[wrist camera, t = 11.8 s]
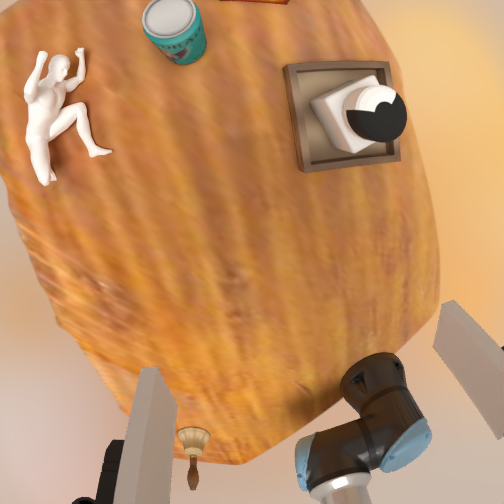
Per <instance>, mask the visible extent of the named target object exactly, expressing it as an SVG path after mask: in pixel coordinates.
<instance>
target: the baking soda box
mask: <svg viewBox="0 0 504 504" xmlns="http://www.w3.org/2000/svg"><path fill="white" fill-rule="evenodd" d="M220 1H245V2H262V3H275V4H284V5H287V3H288V1H289V0H220Z"/></svg>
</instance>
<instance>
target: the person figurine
mask: <svg viewBox="0 0 504 504" xmlns="http://www.w3.org/2000/svg"><path fill="white" fill-rule="evenodd" d="M75 54H76V56H77V57H79V59H80V60H79V67H78V71H77V76H76V77H73V78H70V79H68V80H64V78H65V76H66V75H67V71H68V69H69V67H70V60H69V58H68V57H66V56H65V55H60V54H58V55H56V56H54V57H53V58H52V59H51V61H50V63H49V73H48V75H47V77H46V78H44V79H42V80H40V81H39V78H40V74H41V71H42V67H43V64H44V63H45V61H46V58H47V56H48V53H47V52H45V51H40V52H39V54H38V57H37V61H36V62H37V64H36V66H35V69H34V70H33V72H32V74H31V76H30V77H29V79H28V81H27V83H26V85H25V88H24V93H25V94H24V98H25V101H26V102H27V103H28V114H29V121H28V125H27V133H26V139H25V140H26V143H27V145H28V147H29V150H30V152H31V162H32V165H33V168H34V170H35V172H36V175H37V177H38V180H39V182H40V183H42V184H43V185H44V186H46V185H48V184H49V182H50V181H52V180H53V181H56V176H55V173H54V172H53V170H52V169H51V166H50V154H49V148H48V142H50V141H51V140H53V139H54V138H55V137H56V136H58V135H59V134H61V133H62V132H63V131H65V130H66V129H68V128H69V127H70V125H71V124H72V123H73V122H74V121H75V120H76V118H77V130H78V133H79V135H80V137H81V139H82V140H83V142H84V144H85V145H86V147H87V149H88V151H89V156H90V157H95V156H98V155H106V154H108V153H111V152H112V150H111V149H109V150H107V149H103V148H100V147H98V146H97V145H95V143H94V141H93V139H92V137H91V131H90V125H89V120H88V117H87V108H86V105H85V104H84V103H83V102H79V103H75V104H72V105H69V106H66V107H64V108H62V109H60V108H61V107H62V105H63V103H64V101H65V95H66V92H71V91H73V90H74V89H75V88H76V87H77V86H78V85H79V84H80V83H81V82H83V81H84V80H85V74H86V67H85V60H84V48H78V51H75Z"/></svg>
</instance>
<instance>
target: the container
mask: <svg viewBox="0 0 504 504" xmlns="http://www.w3.org/2000/svg"><path fill="white" fill-rule="evenodd" d="M309 104H310V106H311V108H312V109H313V111H314V113H315V115H316V116H317V118H318V120H319V122H320V123H321V125H322V127H323V129H324V131H325V133H326V134H327V136H328V138H329V140H330V142H331V144H332V146H333V147H334V148H337V149H341V150H344V151H347V152H351V153H357V152H358V151H360V150H362V149H364V148H366V147H367V146H369V145H371V144H373V143H374V142H380V143H387V142H391V141H393V140H395V139H397V138H398V137H399V136H400V135H401V134H402V132H403V130H404V128H405V126H406V121H407V112H406V107H405V104H404V102H403V100H402V98H401V97H400V96H399V94H398V93H397V92H396V91H394V90H393V89H391V88H390V87H387V86H384V85H379V83H378V81H377V79H376V77H375V76H374V75H370V76H366V77H362V78H358V79H354V80H350V81H348V82H346V83H344V84H342V85H340V86H338V87H336V88H334V89H332V90H330V91H328V92H326V93H324V94H322V95H320V96H318V97H316V98H314V99H312V100H310V101H309Z"/></svg>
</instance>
